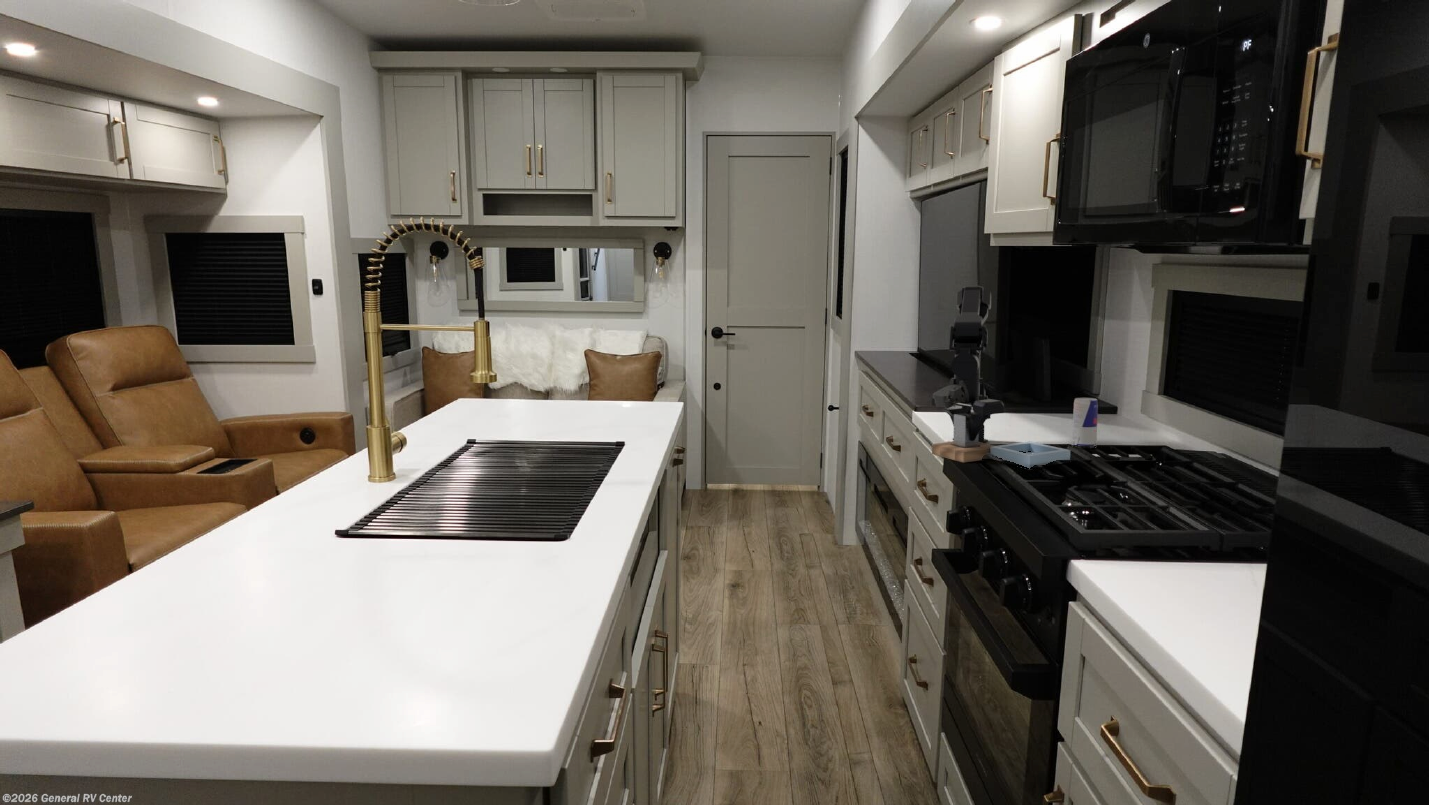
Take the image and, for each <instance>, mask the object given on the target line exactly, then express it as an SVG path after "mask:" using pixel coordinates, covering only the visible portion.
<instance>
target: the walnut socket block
mask: <svg viewBox="0 0 1429 805" xmlns="http://www.w3.org/2000/svg"><path fill="white" fill-rule="evenodd" d="M992 446H995V445H994V444H989V443H987V442H978V447H972V448H961V447H957V446H953V440H952V441H944V442H938V443H937V442H936V443H932V444H931V455H934V456H938V457H941V458H945V459H949V460H952V461H957V462H960V463H970V462H976V461H983V460H982V458H983V456H984V455H986V453H990V448H991V447H992Z"/></svg>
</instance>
